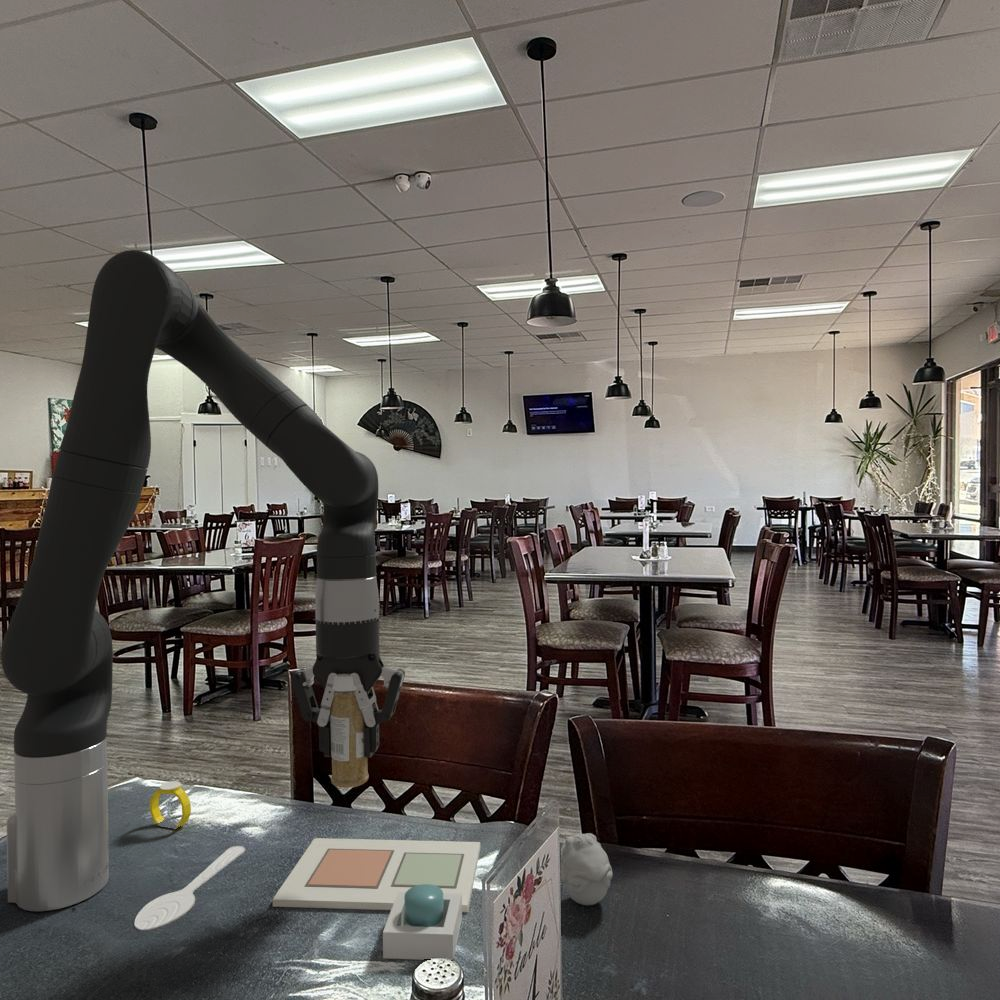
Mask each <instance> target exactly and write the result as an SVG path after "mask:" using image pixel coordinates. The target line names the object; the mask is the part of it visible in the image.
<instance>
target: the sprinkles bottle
mask: <svg viewBox="0 0 1000 1000" xmlns="http://www.w3.org/2000/svg"><path fill="white" fill-rule="evenodd" d="M350 675H351V674H339V675H338V676H336V677H334V685H333V687H332V690H333V691H335V692H334V693H333V694H334V698H333V702H332V707H331V714H330V724H331V757H330V758H331V773H332V774H331V777H330V779H331V780H330V782H331V784H332V785H333V786H335V787H338V788H342V789H348V788H351V789H352V788H356V787H359V786H362V785H364V784H365V783H366V782H368V780H369V777H370V775H369V772H368V768H369V767H368V757H365V756H364V727H365V726H366V723H365V719H364V716H363V713H362V710H360V708H359V705H358V702H357V699H356V696H355V694H356V692H354V691H356V690H357V687H355V686H354V685H353V678H352V677H351V676H350ZM330 692H331V691H330Z"/></svg>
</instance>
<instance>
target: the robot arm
mask: <svg viewBox="0 0 1000 1000" xmlns="http://www.w3.org/2000/svg"><path fill="white" fill-rule="evenodd" d="M156 349H158V350H160V351H162V352H163V353H165V354H166V355H168V356H170V357H171V358H172V359H174V360H175V361H177V362H179V363H180V364H181V365H183V366H184V367H186V369H188V370H189V371H190V372H192V373H193V374H194V375H195V376H196V377H198V378H199V379H200V380H201V382H203V383H204V384H205V385H206V387H208V389H210V390H211V392H212V393H213V394H214V395H215V396H216V397H217V399H218V400H219V401H220V402H221V403H222V404H223V406H224V407H225V408H226V409H227V410H228V412H229V413H231V414H232V415H233V417H234V418H235V419H236V420H237V421H238V422H239V423H240V424H241V425H242V426H243V427H244V428H246V429H247V430H248V431H249V432H250V433H251V434H252V435H253V436H254V437H256V439H258V440H259V442H261V443H262V444H263V445H264V446H266V448H267V449H269V450H270V451H271V452H272V453H273V454H275V455H276V456H277V457H278V458H280V459H281V460H282V461H283V463H284V464H285V465H286V466H287V467H288V469H289V470H290V472H292V473H293V474H294V476H295V477H296V478H297V479H298V480H299V481H300V482H301V483H302V485H303V486H305V488H307V490H309V492H311V493H312V495H313V496H315V497H316V498H318V500H320V502H323V525H322V530H321V532H320V533H319V535H318V537H317V542H316V543H317V544H316V577H317V579H316V589H315V595H314V596H315V598H314V600H315V601H314V602H315V603H314V607H315V610H314V611H315V655H316V658H315V662H314V664H313V666H312V667H309V668H300V669H298V670H297V671H296V672H294V673H293V674H291V676H290V681H291V684H292V687H293V690H294V693H295V696H296V697H295V698H296V700H297V703H298V706H299V710H300V713H301V716H302V718H303V720H304V721H305V722H312V723H315V724H317V726H318V748H319V751H320V752H321V753H323V756H324V757H325V758H332V757H331V724H330V714H331V707H332V702H333V698H334V694H333V693H334V692H335V691H333V690H332V687H333V685H334V677H336V676H338V675H339V674H351V675H350V676H351V677H352V678H353V685H354V686H355V687H357V690H356V691H354V692H356V694H355V696H356V699H357V702H358V705H359V708H360V710H362V713H363V716H364V719H365V723H366V726H365V727H364V756H365V757H367V758H372V756H373V755H374V754H375V753H376V752H377V750H378V749H379V746H380V724H381V723H387V722H389V721H390V720H391V718H392V717H393V715H395V711H396V707H397V706H398V705H397V704H398V701H399V698H400V694H401V690H402V687H403V683H404V681H405V676H406V671H405V670H404V669H403V668H398V669H394V668H393V669H392V668H389V667H388V666H387V667H386V666H385V665H384V662H383V661H382V659H381V655H380V652H381V651H380V609H381V608H380V604H381V603H380V601H379V600H380V598H379V597H380V596H379V588H378V582H377V552H376V551H377V549H376V548H377V547H376V539H375V537H376V525H377V516H378V506H379V505H378V504H379V475H378V472H377V468H376V466H375V463H373V461H372V460H371V459H370V458H369V457H368V456H367V455H365V454H364V453H361V452H359V451H355V450H354V449H353V447H351V446H349V445H348V444H347V443H346V442H344V441H343V440H342V439H341V438H340V437H338V435H336V434H335V433H334V431H332V430H330V429H329V428H328V426H326V425H324V423H323V421H322V419H321V418H320V416H319V415H318V414H317V413H316V412H315V410H313V408H311V406H309V405H308V404H307V403H306V401H304V400H303V399H302V398H301V397H299V395H297V394H296V393H295V392H294V391H293V390H291V388H290V387H288V386H287V385H286V384H285V383H284V382H282V381H281V380H280V379H279V378H278V377H277V376H276V375H274V374H273V373H272V372H270V371H269V370H268V369H267V368H265V367H264V366H263V365H262V364H261V363H259V362H258V361H257V360H256V359H254V358H253V357H252V356H250V355H249V354H248V353H247V352H245V351H244V350H243V349H242V348H241V347H240V346H239V345H238V344H236V343H235V342H234V340H232V338H231V337H230V336H229V335H228V334H227V333H226V332H225V331H224V330H223V329H222V328H221V327H220V326H219V324H218V323H217V322H216V321H215V319H214V318H213V317H212V315H210V313H209V312H208V311H207V309H206V308H205V307H204V306H203V305H202V303H201V301H200V300H199V299H198V298H197V297H196V295H195V294H194V293H193V291H192V290H191V288H190V286H189V284H187V282H186V281H185V280H184V279H183V278H182V277H181V276H179V275H178V274H177V273H176V272H175V271H174V270H173V269H172V268H170V267H169V266H168V265H167V264H166V263H164V262H163V261H161V260H160V259H159V258H157V257H156V256H154V255H152V254H151V253H148V252H147V251H142V250H138V249H137V250H136V249H130V250H124V251H121V252H118V253H116V254H115V255H113V256H112V257H110V258H109V259H108V260H107V261H106V262H105V263H104V264H103V265H102V267H101V269H100V270H99V272H98V274H97V276H96V278H95V282H94V284H93V288H92V292H91V299H90V305H89V314H88V322H87V329H86V337H85V343H84V351H83V359H82V363H81V368H80V371H79V375H78V379H77V383H76V385H75V390H74V394H73V398H72V402H71V405H70V406H71V407H70V411H69V415H68V418H67V419H68V420H67V423H66V427H65V431H64V432H63V433H64V434H63V437H62V440H61V442H60V446H59V450H58V453H57V457H56V461H55V465H54V469H53V473H52V476H51V481H50V485H49V491H48V495H47V499H46V504H45V506H44V507H45V508H44V512H43V516H42V520H41V523H40V526H39V527H40V528H39V532H38V536H37V541H36V547H35V551H34V553H33V559H32V561H31V566H30V570H29V572H28V575H27V578H26V581H25V584H24V586H23V589H22V591H21V594H20V596H19V600H18V601H17V604H16V607H15V609H14V612H13V614H12V617H11V620H10V621H9V624H8V627H7V630H6V632H5V634H4V637H3V640H2V644H1V649H0V663H1V668H2V671H3V674H4V676H5V677H6V679H7V681H8V682H9V684H11V685H12V686H13V687H14V688H15V689H16V690H18V691H19V692H22V693H23V694H26V695H27V697H26V702H25V706H24V708H23V712H22V714H21V716H20V718H19V720H18V721H17V724H16V725H15V729H14V732H13V760H14V761H13V762H14V766H13V767H14V768H13V770H14V814H12V815H11V816H9V817H8V818H7V820H6V855H7V856H6V865H7V866H6V867H7V869H6V870H7V877H6V878H7V879H6V880H7V903H12V904H13V903H14V904H16V905H17V906H18V907H19V908H20V909H22V910H24V911H27V912H28V911H29V912H45V911H47V912H48V911H54V910H60V909H63V908H66V907H71V906H72V905H75V904H79V903H80V902H81V903H82V901H85V900H87V899H90V898H91V897H92V896H94V895H96V894H97V893H98V892H100V891H101V890H102V889H104V887H105V886H106V885H107V884H108V882H109V877H110V869H109V866H110V861H109V805H108V804H109V802H108V801H109V799H108V798H109V797H108V792H109V791H108V790H109V789H108V788H109V787H108V785H109V784H108V742H107V739H108V737H107V732H108V731H107V728H108V727H107V726H108V718H109V716H110V711H111V707H112V701H113V669H114V668H113V667H114V665H113V664H114V663H113V662H114V661H113V659H114V656H113V655H114V654H113V652H114V651H113V649H114V648H113V640H112V639H113V638H112V634H111V628H110V627H109V624H108V622H107V620H106V619H105V617H104V616H103V615H102V614H101V613H100V612H99V611H97V610H96V606H97V600H98V597H99V596H98V595H99V592H100V588H101V584H102V580H103V578H104V575H105V572H106V570H107V567H108V566H109V563H110V561H111V559H112V558H113V557H114V554H115V552H116V551H117V549H118V547H119V545H120V543H121V541H123V538H124V536H125V534H126V532H127V530H128V528H129V526H130V524H131V522H132V520H133V518H134V515H135V514H136V511H137V508H138V505H139V503H140V499H141V496H142V491H143V487H144V485H145V484H144V483H145V479H146V476H147V472H148V469H149V466H150V465H149V464H150V459H151V451H152V450H151V449H152V435H151V423H150V412H149V402H148V401H149V399H148V385H149V384H148V382H149V374H150V369H151V364H152V361H153V359H154V355H155V352H156ZM380 677H382V678H383V685H384V687H385V688H387V691H386V694H385V697H384V702H383V705H382V708H381V709H379V706H378V704H377V696H376V692H375V690H374V685H375V684H376V683H377V682H378V680H379V679H380ZM314 678H316V680H317V681H318V683H319V684H320V685H321V687H322V688H323V689H324V692H323V696H322V700H321V703H320V708H319V704H318V702H317V699H316V696H315V692H314V689H313V686H312V685H313V684H314V683H315V679H314ZM330 691H331V692H330Z"/></svg>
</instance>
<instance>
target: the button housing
mask: <svg viewBox="0 0 1000 1000" xmlns="http://www.w3.org/2000/svg"><path fill="white" fill-rule="evenodd" d="M405 893H406V892H398V894H397V896H396V899H395V902H394V904H393V907H392V910H390V912H389V915H388V917H387V921H386V923H385V924H384V925H385V926H384V929H383V931H382V958H383V959H390V960H392V959H393V960H394V959H395V960H416V961H418V960H423V961H425V960H424V959H428V958H432V957H444V958H450V959H455V955H456V949H457V945H458V941H459V940H458V939H459V936H460V935H459V934H460V930H461V925H462V921H463V912H462V894H444V893H443V919H442V920H441V921H440V922H439V923H438V924H436V925H434V926H431V927H419V926H410V925H409V924H407V923H406V921H405V899H404V896H405Z"/></svg>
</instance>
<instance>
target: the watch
mask: <svg viewBox="0 0 1000 1000" xmlns="http://www.w3.org/2000/svg"><path fill="white" fill-rule="evenodd" d="M162 794H163V795H170V794H173V795H174V796H175V797H176V798H177V799H178V801H179V803H180V805H181V814H182V815H181V817H180V821H179V822H178V823H179V824H178V825H177V826H176V827H177V828H178V827H180V826H181V827H183V826H184V825H185V824H186V823H187V822H188V821H189V819H190V816H191V812H192V807H191V801H190V798H189V796H188V795H187V792H186V791H185V790H184V789H182V783H181V782H180V781H175V780H171V781H167V782H166V781H165V782H164V783H162V784H161V785H159V789H157V790H156V791H154V792H153V794H152V796H151V797H150V800H149V812H150V815H151V818H152V821H153V823H154V824H156V823H160V822H162V821H163V820H164V819H165V818H164V816H163V815H162V813H161V809H160V805H159V804H160V796H161V795H162ZM183 824H184V825H183ZM182 825H183V826H182ZM181 827H180V828H181ZM178 829H179V828H178Z"/></svg>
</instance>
